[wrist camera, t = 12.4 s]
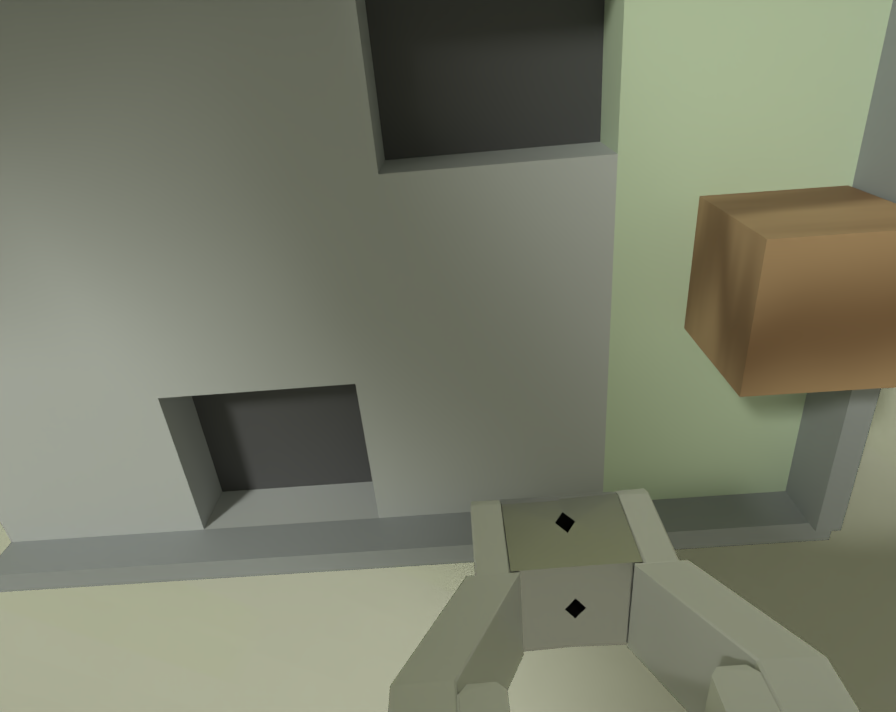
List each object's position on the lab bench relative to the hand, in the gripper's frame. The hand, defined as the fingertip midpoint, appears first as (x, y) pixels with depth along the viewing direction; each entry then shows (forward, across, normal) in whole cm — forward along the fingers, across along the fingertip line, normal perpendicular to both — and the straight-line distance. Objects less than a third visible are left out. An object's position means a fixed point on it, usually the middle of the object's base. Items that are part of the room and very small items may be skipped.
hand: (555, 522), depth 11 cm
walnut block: (+13, -10, +1) cm, 16 cm away
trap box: (+16, +5, +1) cm, 17 cm away
